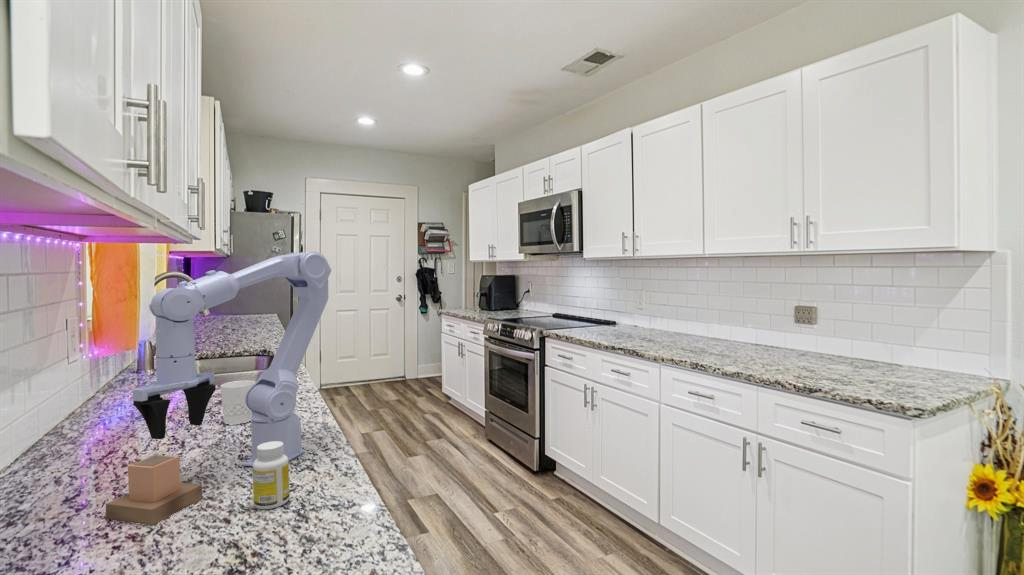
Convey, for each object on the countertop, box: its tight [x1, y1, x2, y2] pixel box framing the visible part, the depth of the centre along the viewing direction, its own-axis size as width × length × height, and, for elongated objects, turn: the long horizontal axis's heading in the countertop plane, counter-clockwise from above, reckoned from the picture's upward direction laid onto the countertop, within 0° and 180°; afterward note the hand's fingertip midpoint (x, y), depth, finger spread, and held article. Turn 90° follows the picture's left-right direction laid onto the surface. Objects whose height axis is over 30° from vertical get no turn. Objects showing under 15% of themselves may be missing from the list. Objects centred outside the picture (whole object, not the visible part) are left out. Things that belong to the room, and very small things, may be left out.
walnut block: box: [105, 481, 203, 527], centre depth 80 cm, size 9×9×3 cm
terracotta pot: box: [127, 454, 181, 502], centre depth 80 cm, size 5×5×6 cm
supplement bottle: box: [252, 441, 290, 510], centre depth 82 cm, size 5×5×10 cm
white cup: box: [220, 379, 256, 425], centre depth 127 cm, size 8×8×10 cm
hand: (177, 431), depth 87 cm, fingers open, 7 cm apart
